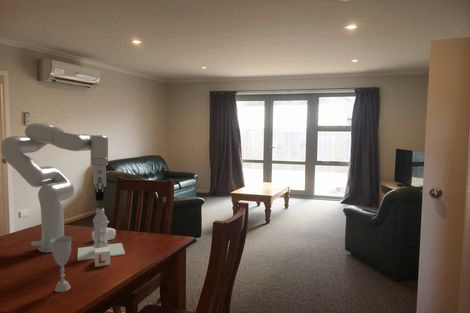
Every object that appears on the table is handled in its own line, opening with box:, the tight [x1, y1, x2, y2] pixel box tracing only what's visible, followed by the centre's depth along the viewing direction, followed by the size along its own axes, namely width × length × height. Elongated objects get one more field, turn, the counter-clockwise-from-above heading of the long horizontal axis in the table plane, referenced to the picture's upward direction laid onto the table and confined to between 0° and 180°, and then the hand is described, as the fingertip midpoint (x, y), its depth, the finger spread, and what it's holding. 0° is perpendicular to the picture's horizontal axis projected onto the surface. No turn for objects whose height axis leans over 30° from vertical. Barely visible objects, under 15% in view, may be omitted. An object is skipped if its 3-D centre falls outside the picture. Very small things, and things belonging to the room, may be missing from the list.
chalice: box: [51, 235, 73, 293], centre depth 119 cm, size 7×7×18 cm
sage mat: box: [76, 242, 126, 262], centre depth 157 cm, size 20×16×1 cm
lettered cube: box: [94, 247, 111, 268], centre depth 143 cm, size 6×6×6 cm
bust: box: [91, 220, 117, 241], centre depth 175 cm, size 12×8×11 cm
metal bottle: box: [92, 207, 109, 249], centre depth 156 cm, size 6×7×20 cm
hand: (99, 198), depth 156 cm, fingers open, 9 cm apart
